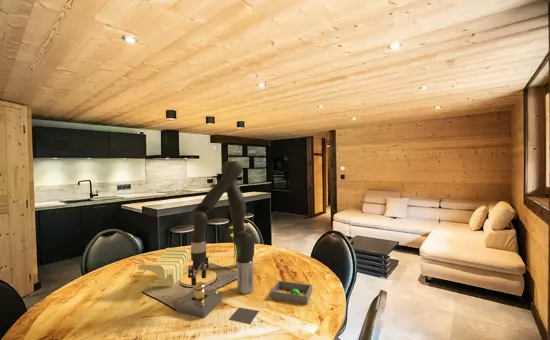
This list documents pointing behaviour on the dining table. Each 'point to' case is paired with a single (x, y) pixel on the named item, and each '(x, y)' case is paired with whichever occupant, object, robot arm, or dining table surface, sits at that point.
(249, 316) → the mat
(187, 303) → the housing
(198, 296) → the brass capped cylinder
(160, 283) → the slatted curved stool
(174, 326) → the dining table surface
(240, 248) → the daffodil flowers
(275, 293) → the parts tray
